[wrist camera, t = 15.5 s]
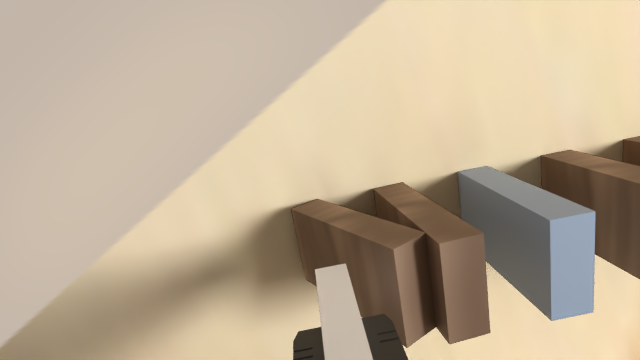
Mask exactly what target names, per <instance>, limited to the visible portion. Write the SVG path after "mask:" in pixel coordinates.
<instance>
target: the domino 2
mask: <svg viewBox="0 0 640 360" xmlns="http://www.w3.org/2000/svg"><path fill="white" fill-rule="evenodd" d="M374 196H375V203H376V210H377V217H378V218H380V219H384V220H387V221H390V222H393V223H397V224H400V225H403V226H406V227H409V228H413V229H416V230H419V231H422V232H425V233H426V241H427V250H428V259H429V267H430V276H431V285H432V294H433V303H434V312H435V321H436V327H437V329H438V330H439V331H440V333H441V334H442V335H443V336H444V338H445V339H446V340H447V342H448V343H449V344H453V343H456V342H460V341H463V340H467V339H470V338H474V337H477V336H481V335H484V334H488V333H490V322H489V307H488V292H487V277H486V262H485V247H484V233H483V232H481V231H480V230H478V229H476V228H475V227H473V226H472V225H470V224H468V223H467V222H465V221H464V220H462V219H460V218H459V217H457V216H456V215H454V214H452V213H451V212H449V211H448V210H446V209H444V208H443V207H441V206H440V205H438V204H436V203H435V202H433V201H432V200H430V199H428V198H427V197H425V196H424V195H422V194H420V193H419V192H417V191H416V190H414V189H412V188H411V187H409V186H408V185H406V184H404V183H403V182H402V183H397V184H393V185H388V186H384V187H380V188H375V189H374Z"/></svg>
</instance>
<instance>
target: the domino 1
mask: <svg viewBox="0 0 640 360" xmlns="http://www.w3.org/2000/svg"><path fill="white" fill-rule="evenodd" d="M291 211H292V216H293V221H294V225H295V230H296V235H297V239H298V244H299V249H300V253H301V258H302V263H303V268H304V272H305V277H306V280H308V281H309V282H311V283H312V284H314V285H315V286H317V283H316V274H315V269H320V268H325V267H330V266H335V265H340V264H345V263H346V266H347V270H348V273H349V277H350V280H351V284H352V287H353V291H354V294H355V298H356V301H357V305H358V308H359V312H360V315H361V317H362V318H365V317H370V316H375V315H380V314H385V315H386V316H387V317H388V318H390V319H391V320H392V322H393V324H394V326H395V329H396V332H397V334H398V336H399V339H400V341H401V343H402V345H404V346H405V347H406V348H408V347H409V346H411V345H412V344H413V343H415V342H416V341H417V340H419V339H420V338H421V337H423V336H424V335H426V334H427V333H428V332H430V331H431V330H432V329H434V328H435V327H436V321H435V312H434V303H433V294H432V285H431V276H430V267H429V259H428V250H427V241H426V233H425V232H422V231H419V230H416V229H413V228H409V227H406V226H403V225H400V224H397V223H393V222H390V221H387V220H384V219H380V218H377V217H374V216H371V215H368V214H364V213H361V212H358V211H355V210H352V209H348V208H345V207H342V206H339V205H335V204H332V203H329V202H326V201H323V200H319V199H316V200H313V201H311V202H308V203H305V204H303V205H300V206H297V207H295V208H292V209H291Z"/></svg>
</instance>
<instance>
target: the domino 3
mask: <svg viewBox="0 0 640 360" xmlns="http://www.w3.org/2000/svg"><path fill="white" fill-rule="evenodd" d="M458 183H459V195H460V207H461V219H462V220H464V221H465V222H467V223H468V224H470V225H472V226H473V227H475V228H476V229H478V230H480V231H481V232H483V233H484V247H485V261H486V262H487V263H489V264H490V265H491V266H492V267H493V268H494V269H495V270H496V271H497V272H498V273H499V274H501V275H502V276H503V277H504V278H505V279H506V280H507V281H508V282H509V283H510V284H512V285H513V286H514V287H515V288H516V289H517V290H518V291H519V292H520V293H521V294H523V295H524V296H525V297H526V298H527V299H528V300H529V301H530V302H531V303H532V304H533V305H535V306H536V307H537V308H538V309H539V310H540V311H541V312H542V313H543V314H544V315H546V316H547V317H548V318H549V319H550V320H551V321H553V320H558V319H563V318H568V317H573V316H578V315H582V314H587V313H592V312H593V310H594V261H595V211H593V210H591V209H589V208H586V207H584V206H582V205H579V204H577V203H574V202H572V201H570V200H567V199H565V198H562V197H560V196H558V195H555V194H553V193H550V192H548V191H546V190H543V189H541V188H539V187H536V186H534V185H531V184H529V183H527V182H524V181H522V180H519V179H517V178H515V177H512V176H510V175H508V174H505V173H503V172H500V171H498V170H496V169H493V168H491V167H488V166H484V167H479V168H474V169H469V170H463V171H458Z"/></svg>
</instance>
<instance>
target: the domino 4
mask: <svg viewBox="0 0 640 360" xmlns="http://www.w3.org/2000/svg"><path fill="white" fill-rule="evenodd" d="M541 183H542V189H543V190H546V191H548V192H550V193H553V194H555V195H558V196H560V197H562V198H565V199H567V200H570V201H572V202H574V203H577V204H579V205H582V206H584V207H586V208H589V209H591V210H593V211H595V254H596V255H597V256H599V257H601V258H603V259H604V260H606V261H608V262H610V263H612V264H613V265H615V266H617V267H619V268H621V269H622V270H624V271H626V272H628V273H630V274H631V275H633V276H635V277H637V278H638V279H640V166H637V165H632V164H628V163H624V162H620V161H615V160H611V159H607V158H603V157H598V156H594V155H590V154H586V153H581V152H577V151H573V150H567V151H561V152H556V153H551V154H546V155H541Z"/></svg>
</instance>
